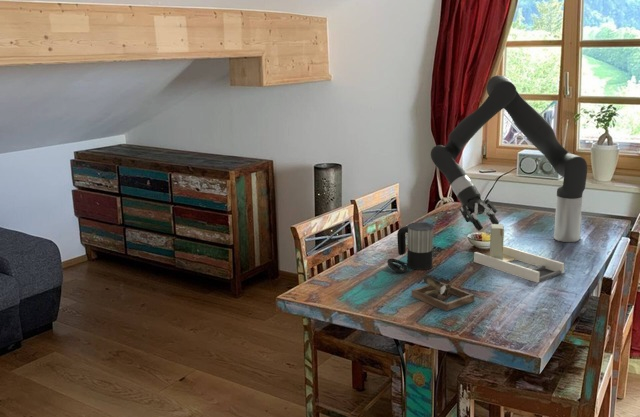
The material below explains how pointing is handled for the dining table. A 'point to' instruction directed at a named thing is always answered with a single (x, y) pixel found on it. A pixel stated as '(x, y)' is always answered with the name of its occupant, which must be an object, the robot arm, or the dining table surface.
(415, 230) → the milk frother
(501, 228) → the skincare box
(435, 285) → the eagle figurine
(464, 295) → the display frame
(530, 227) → the dining table surface
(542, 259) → the channel
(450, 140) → the robot arm
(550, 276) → the tray
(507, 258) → the pad
